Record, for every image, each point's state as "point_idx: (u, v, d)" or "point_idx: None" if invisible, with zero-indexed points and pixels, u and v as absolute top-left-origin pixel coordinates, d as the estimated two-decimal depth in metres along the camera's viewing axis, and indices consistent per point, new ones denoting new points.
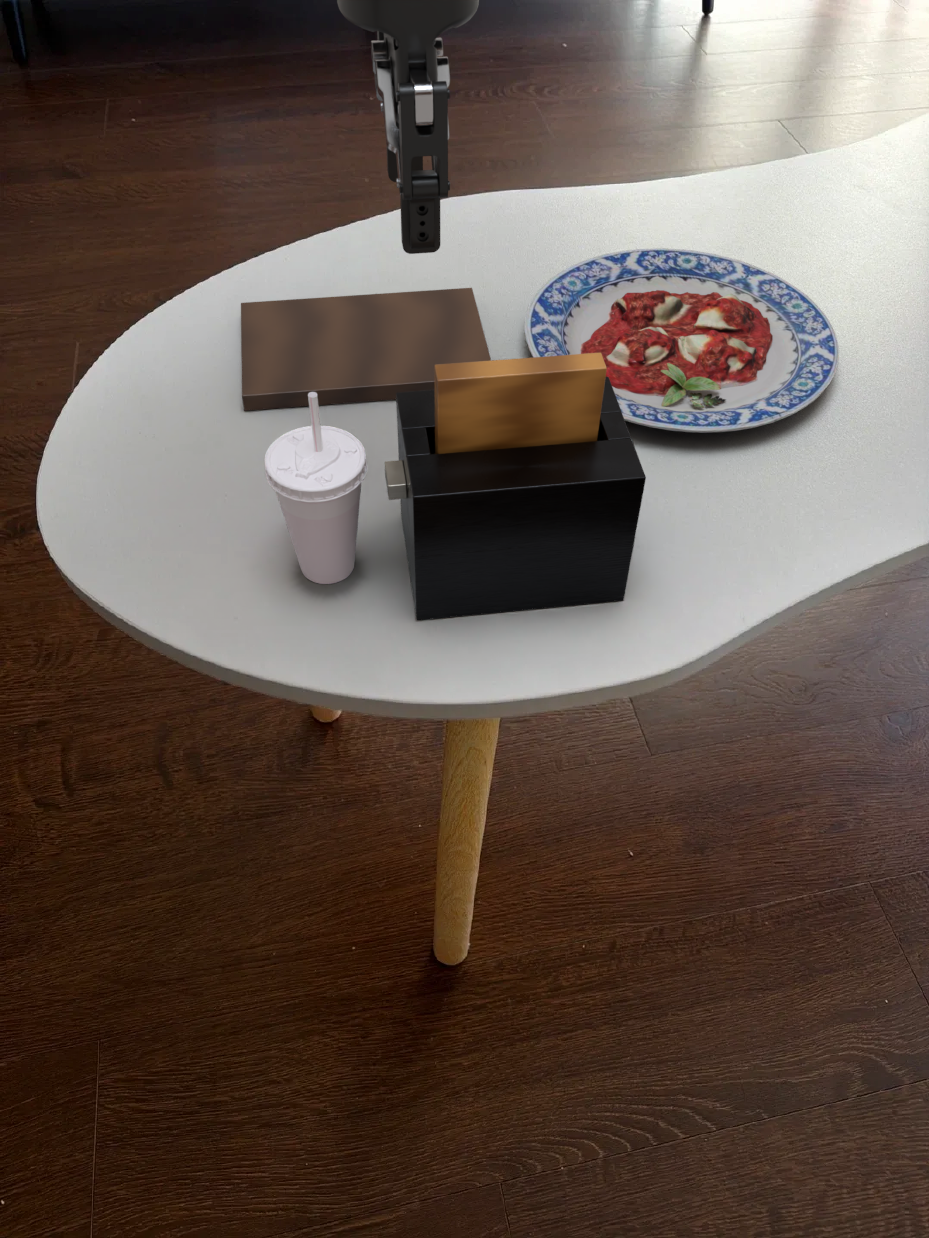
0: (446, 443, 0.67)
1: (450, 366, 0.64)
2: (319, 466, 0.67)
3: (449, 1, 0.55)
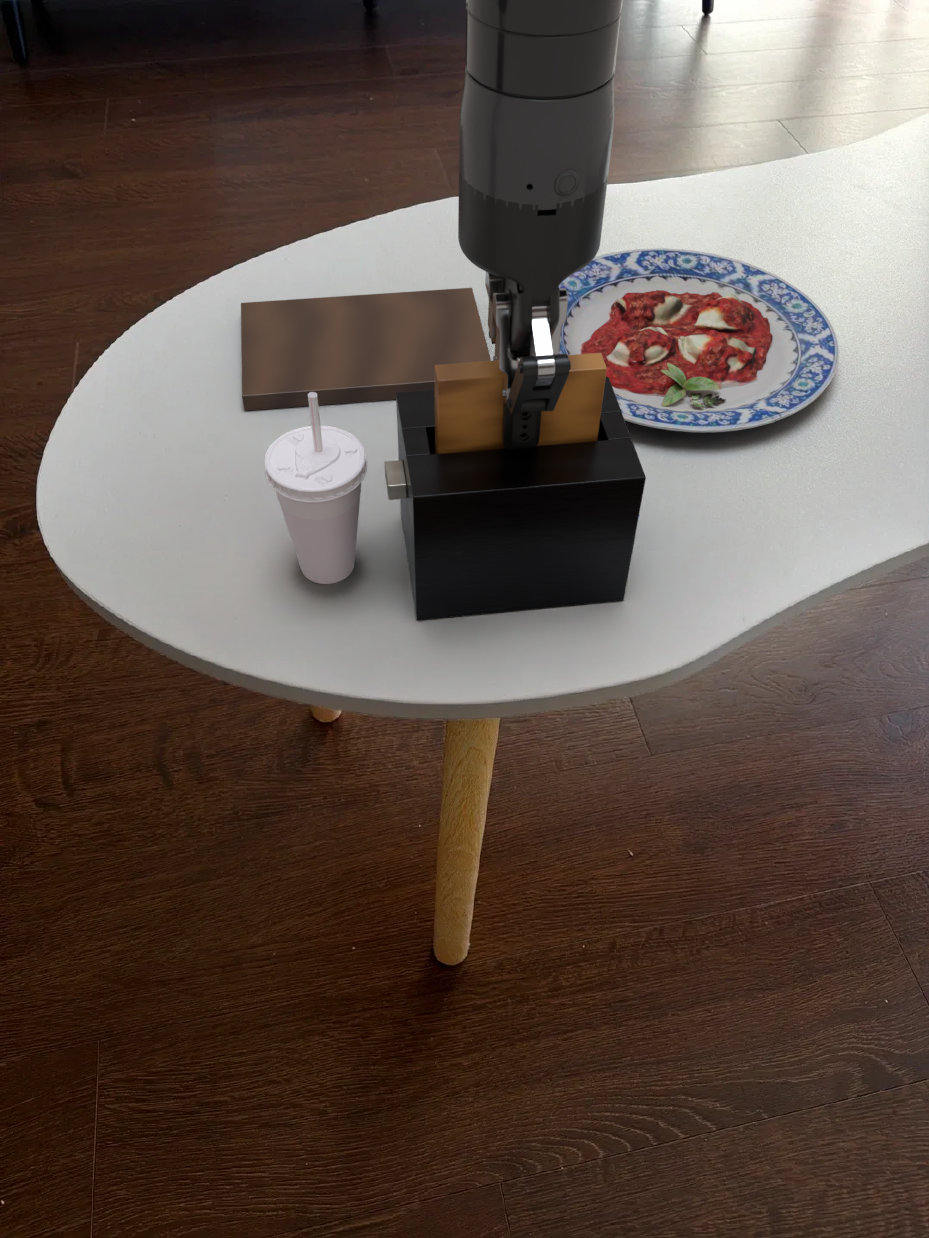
0: (446, 443, 0.67)
1: (450, 366, 0.64)
2: (319, 466, 0.67)
3: (576, 250, 0.55)
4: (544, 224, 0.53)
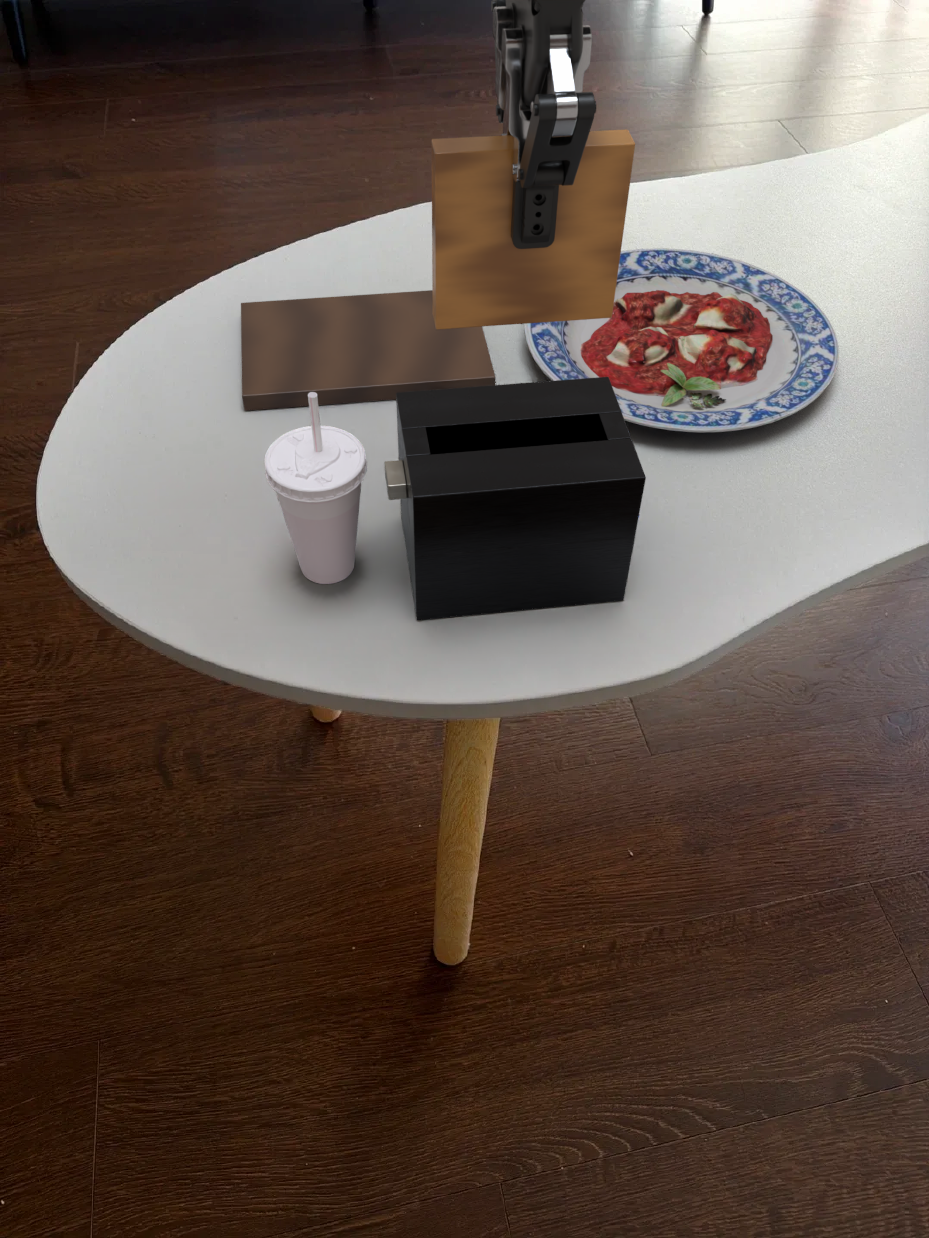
0: (445, 241, 0.57)
1: (450, 140, 0.54)
2: (319, 466, 0.67)
3: None
4: None
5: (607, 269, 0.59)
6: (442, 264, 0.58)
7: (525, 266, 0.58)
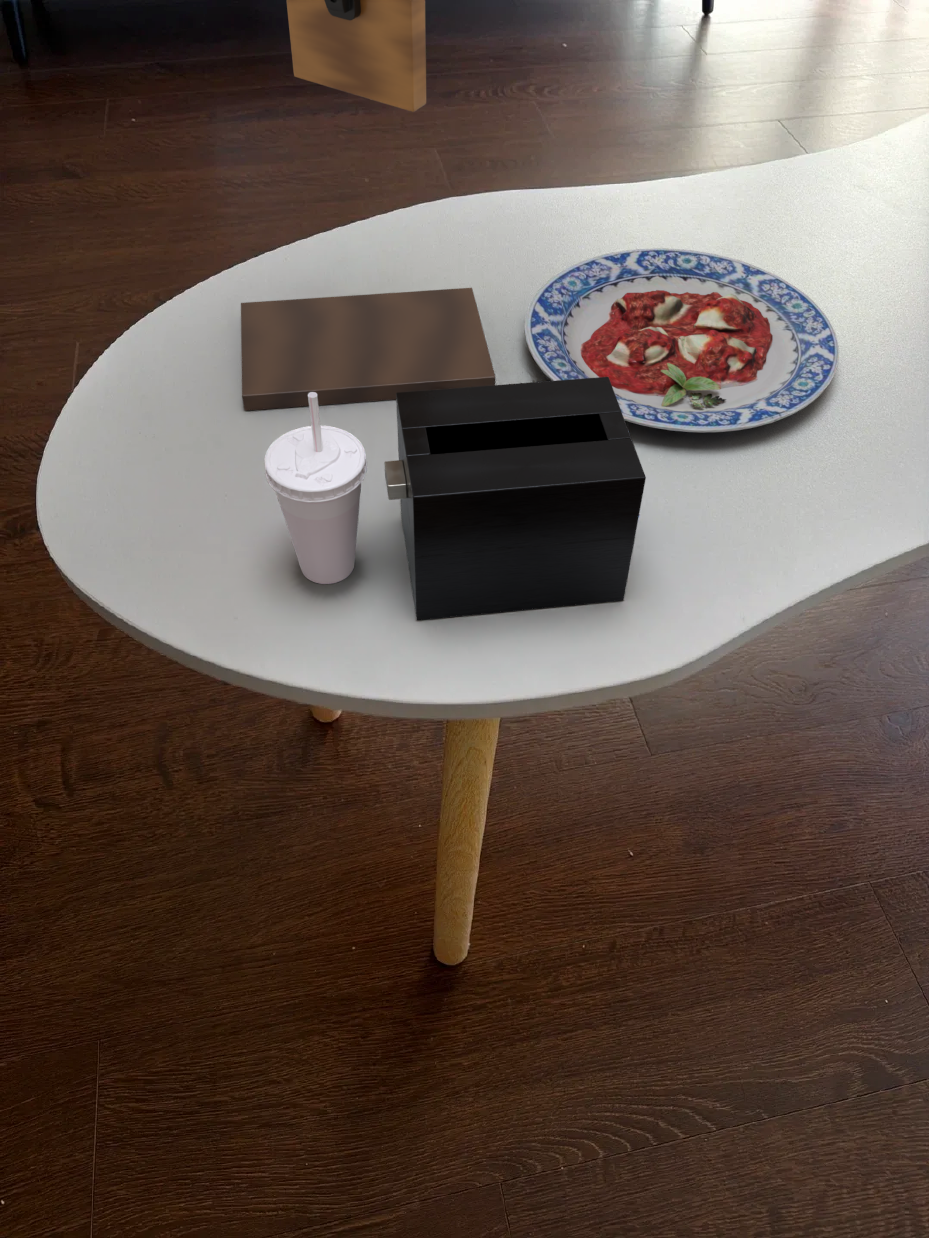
0: None
1: None
2: (319, 466, 0.67)
3: None
4: None
5: (404, 61, 0.70)
6: (291, 16, 0.73)
7: (346, 37, 0.72)
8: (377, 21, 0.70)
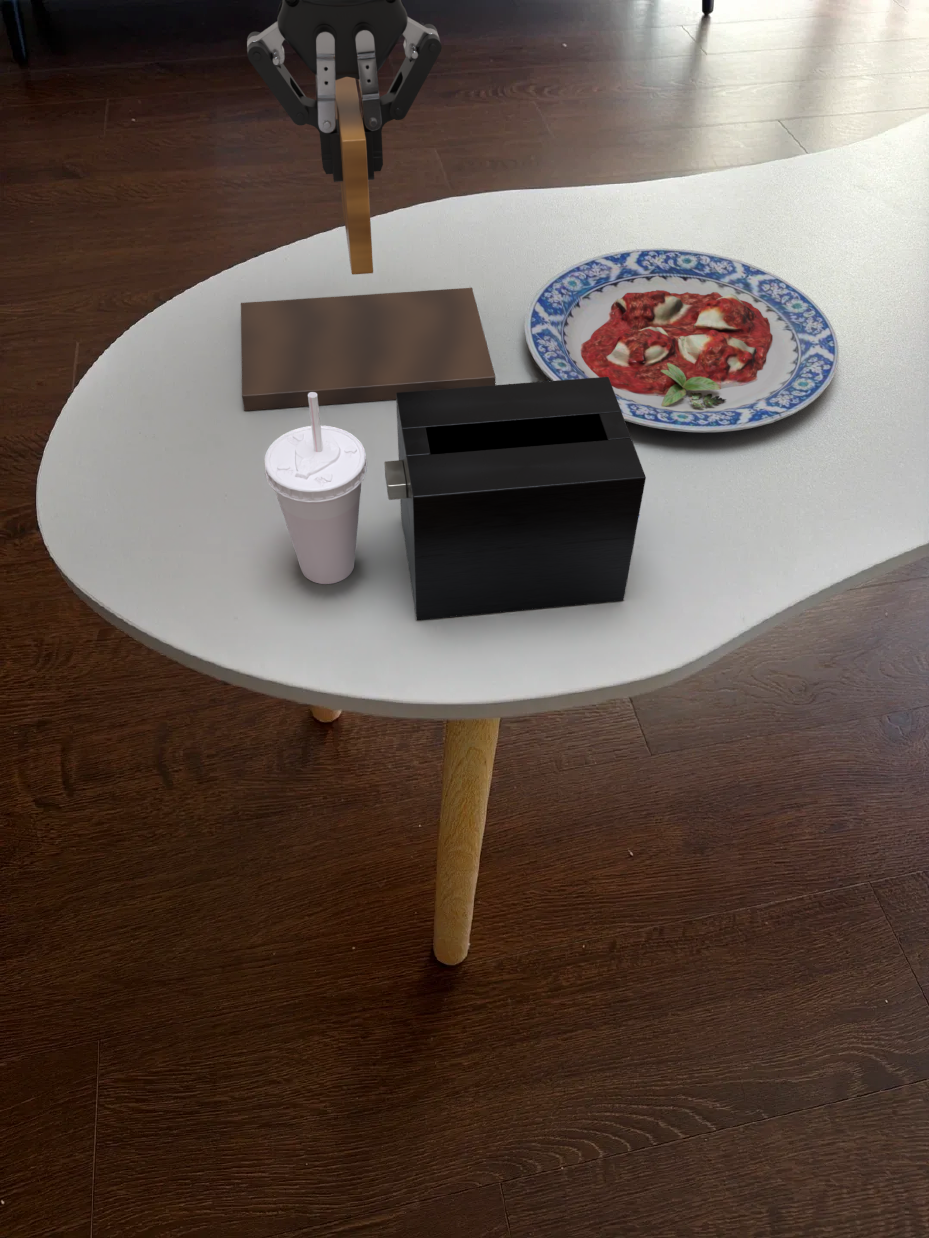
0: None
1: (350, 81, 0.79)
2: (319, 466, 0.67)
3: None
4: None
5: (348, 231, 0.79)
6: None
7: (343, 193, 0.81)
8: (344, 191, 0.78)
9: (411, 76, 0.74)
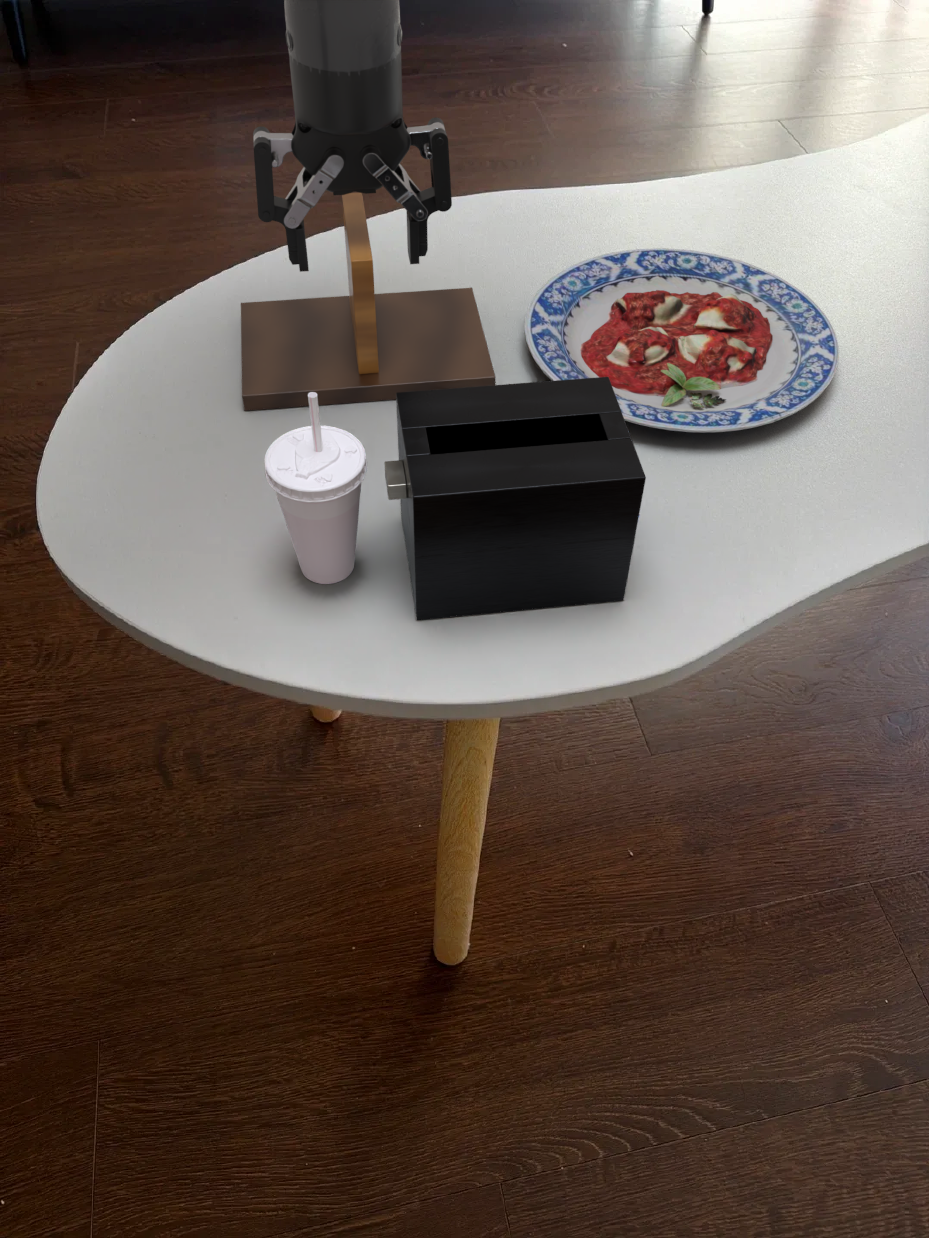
0: None
1: (358, 198, 0.86)
2: (319, 466, 0.67)
3: (300, 104, 0.74)
4: None
5: None
6: None
7: (351, 299, 0.88)
8: (352, 299, 0.85)
9: (436, 173, 0.79)
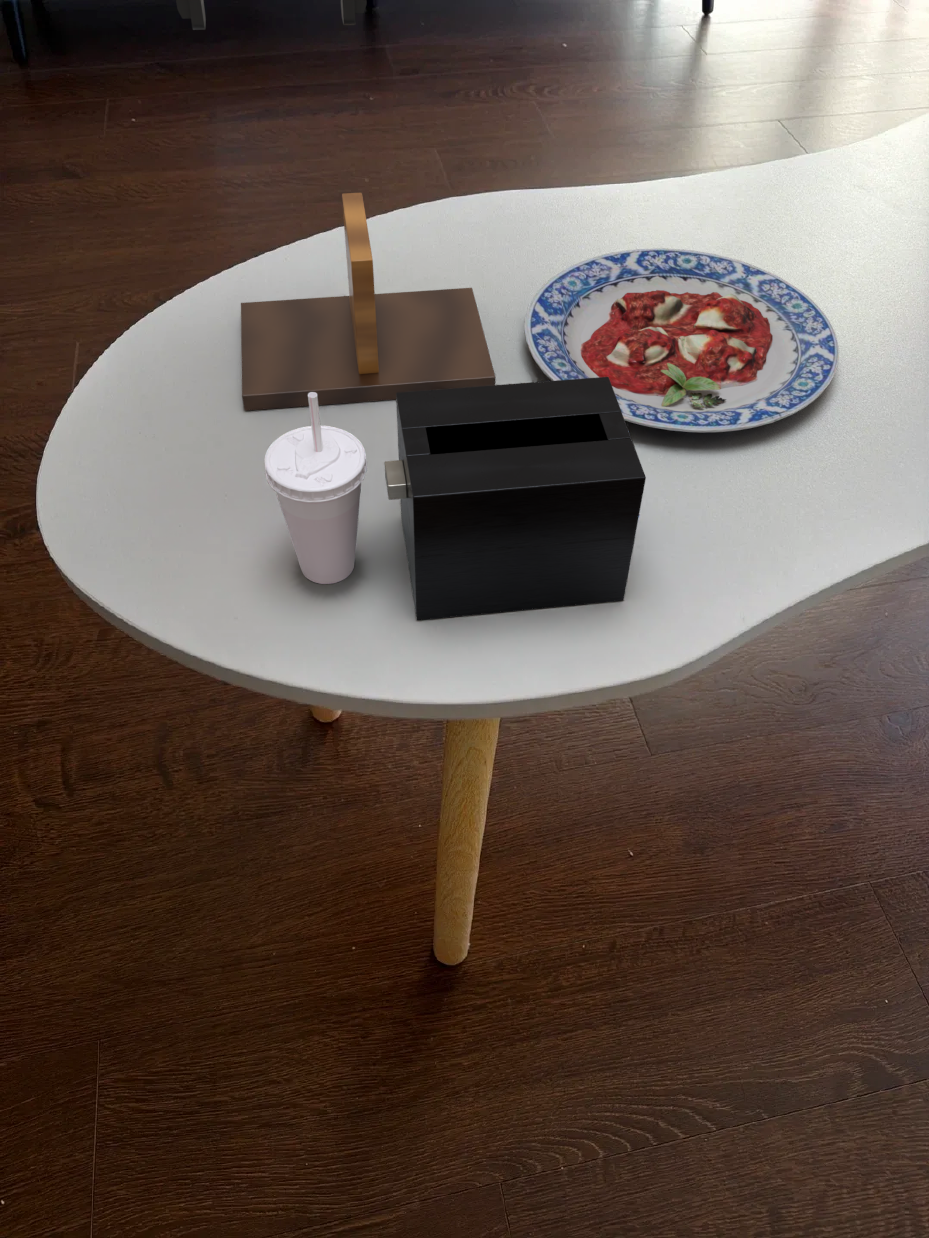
0: None
1: (358, 198, 0.86)
2: (319, 466, 0.67)
3: None
4: None
5: None
6: None
7: (351, 299, 0.88)
8: (352, 299, 0.85)
9: None
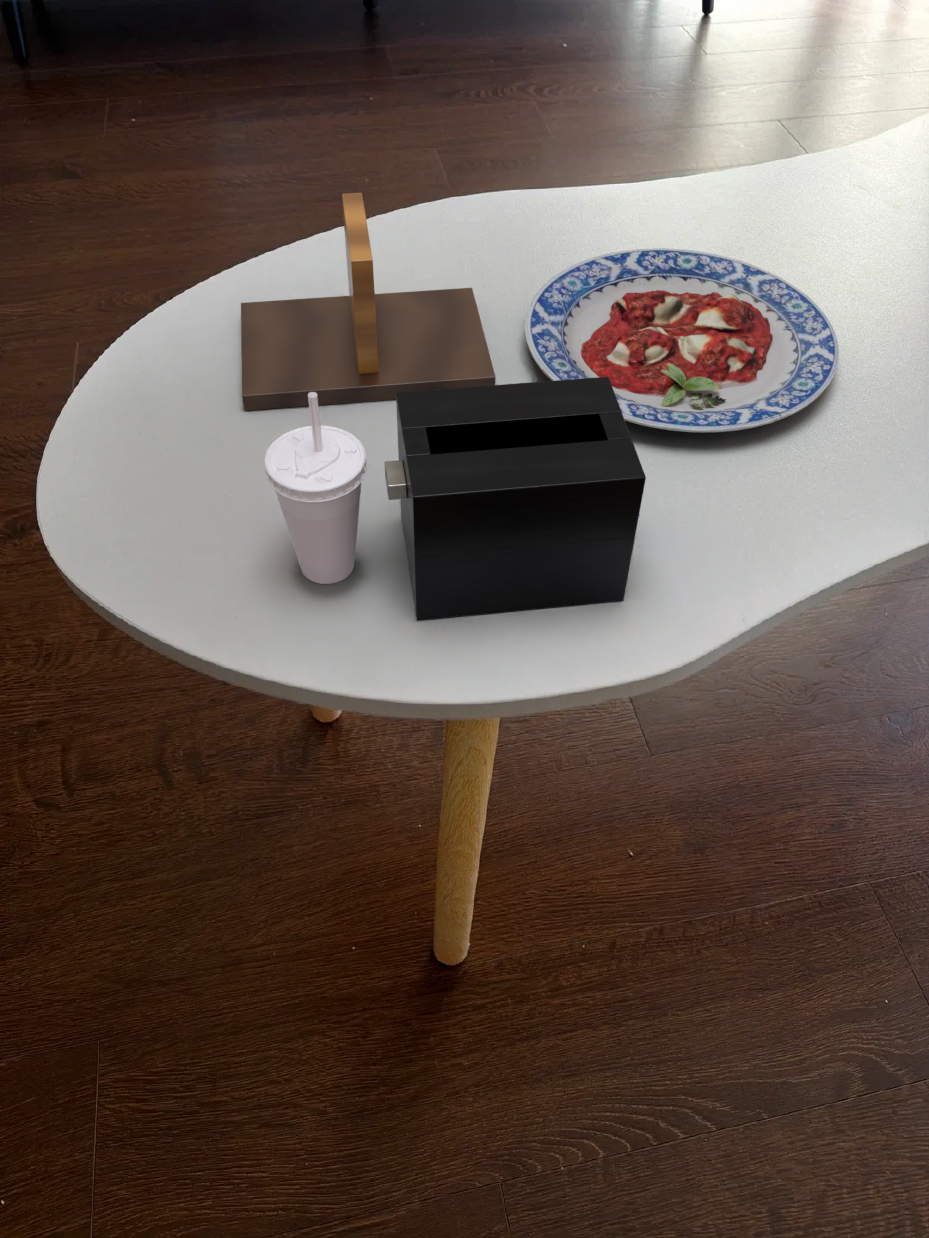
0: None
1: (358, 198, 0.86)
2: (319, 466, 0.67)
3: None
4: None
5: None
6: None
7: (351, 299, 0.88)
8: (352, 299, 0.85)
9: None
